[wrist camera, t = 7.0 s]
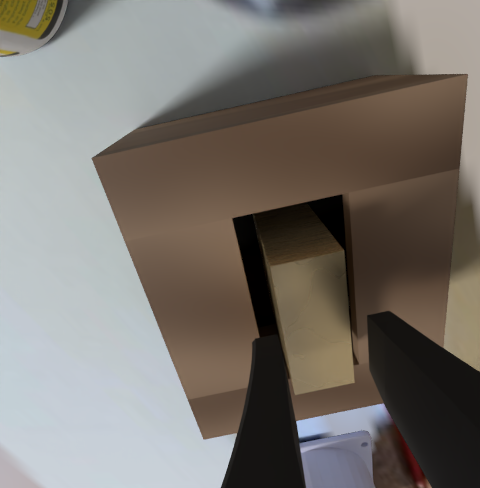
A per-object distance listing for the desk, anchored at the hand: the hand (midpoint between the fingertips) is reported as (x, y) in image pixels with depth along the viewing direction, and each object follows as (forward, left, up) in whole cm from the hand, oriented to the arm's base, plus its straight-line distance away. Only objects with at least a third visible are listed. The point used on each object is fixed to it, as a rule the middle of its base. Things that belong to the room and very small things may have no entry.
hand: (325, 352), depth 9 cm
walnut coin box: (0, 0, -8) cm, 8 cm away
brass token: (0, 0, -6) cm, 6 cm away
